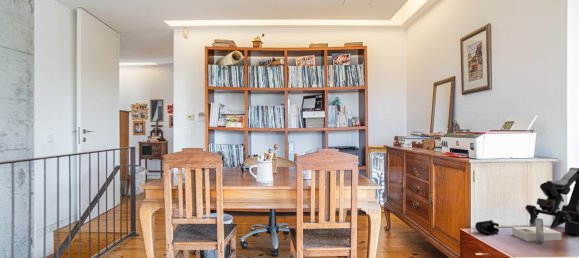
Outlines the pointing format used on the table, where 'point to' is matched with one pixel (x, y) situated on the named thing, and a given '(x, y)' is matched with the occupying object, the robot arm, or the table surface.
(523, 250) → the table surface
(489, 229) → the end cap
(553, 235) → the hole plate
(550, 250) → the table surface
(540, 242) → the long pin
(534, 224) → the short pin
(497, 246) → the table surface
